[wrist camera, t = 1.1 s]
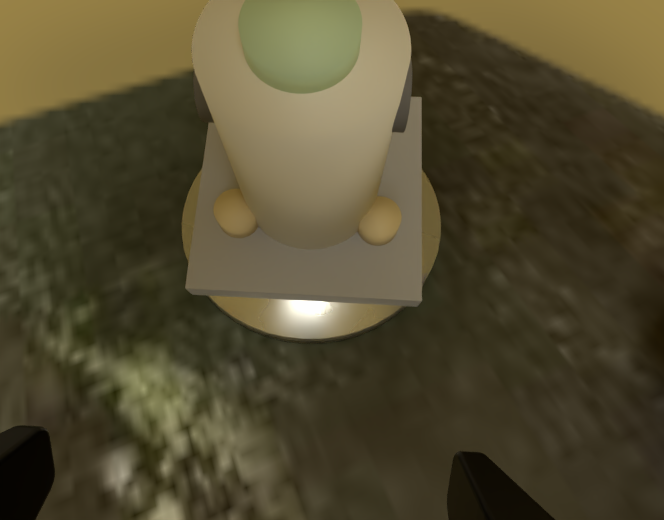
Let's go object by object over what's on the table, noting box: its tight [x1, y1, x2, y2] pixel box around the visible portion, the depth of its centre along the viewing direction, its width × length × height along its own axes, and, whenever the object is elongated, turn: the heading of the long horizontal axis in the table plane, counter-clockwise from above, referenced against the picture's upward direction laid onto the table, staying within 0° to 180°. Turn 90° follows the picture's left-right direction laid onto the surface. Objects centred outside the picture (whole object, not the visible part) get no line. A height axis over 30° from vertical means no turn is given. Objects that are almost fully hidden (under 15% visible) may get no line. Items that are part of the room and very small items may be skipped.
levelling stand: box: [182, 169, 441, 344], centre depth 24 cm, size 13×13×2 cm
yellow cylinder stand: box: [185, 0, 422, 307], centre depth 18 cm, size 10×10×11 cm
